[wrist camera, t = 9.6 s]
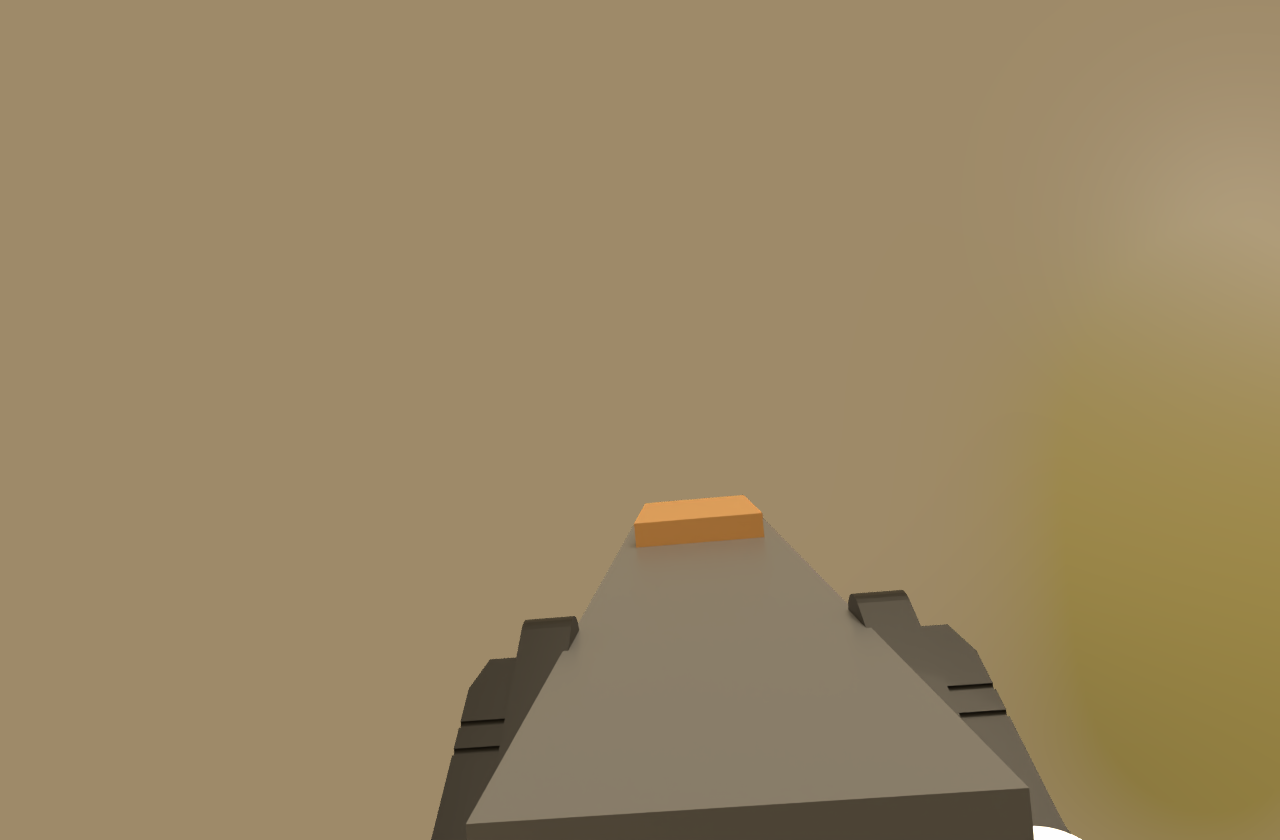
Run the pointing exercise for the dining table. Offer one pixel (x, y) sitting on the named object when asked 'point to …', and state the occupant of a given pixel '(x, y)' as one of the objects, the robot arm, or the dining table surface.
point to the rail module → (738, 710)
